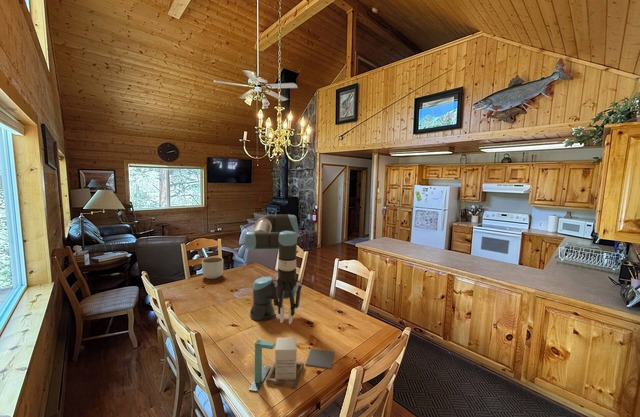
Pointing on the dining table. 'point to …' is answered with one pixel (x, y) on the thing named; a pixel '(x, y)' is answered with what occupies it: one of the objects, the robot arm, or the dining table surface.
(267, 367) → the rail
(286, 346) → the supplement box
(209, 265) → the planter
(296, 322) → the dining table surface
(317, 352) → the coaster
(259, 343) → the teal bent bar
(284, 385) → the frame
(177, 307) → the dining table surface
